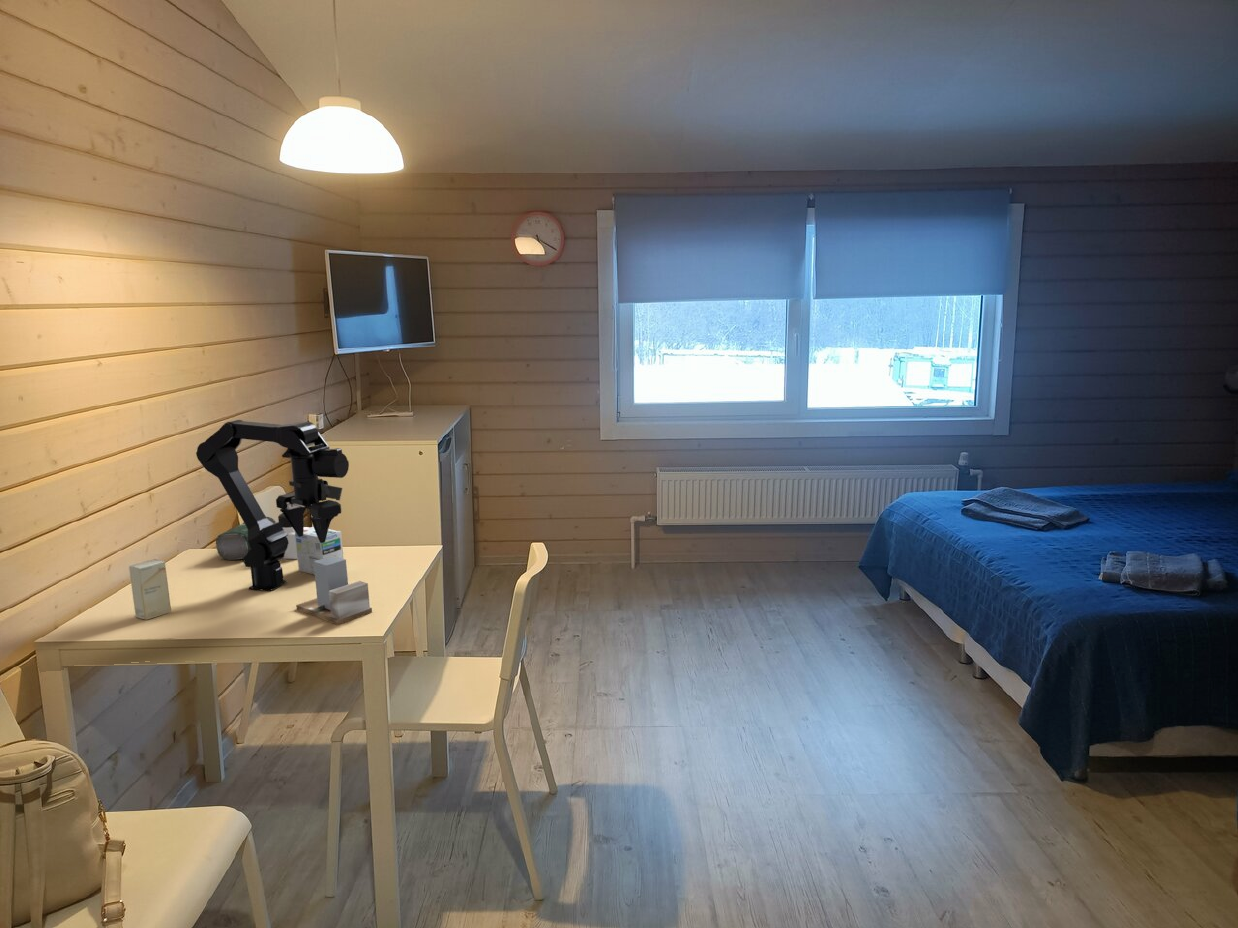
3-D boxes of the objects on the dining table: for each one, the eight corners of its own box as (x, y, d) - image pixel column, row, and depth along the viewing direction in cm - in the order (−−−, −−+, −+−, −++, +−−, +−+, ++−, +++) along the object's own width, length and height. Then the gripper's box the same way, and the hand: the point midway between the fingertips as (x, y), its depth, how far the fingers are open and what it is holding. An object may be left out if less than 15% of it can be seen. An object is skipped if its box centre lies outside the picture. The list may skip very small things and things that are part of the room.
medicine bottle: (298, 559, 235) (294, 516, 232) (274, 558, 236) (270, 516, 233) (312, 551, 241) (308, 510, 239) (289, 550, 243) (285, 509, 240)
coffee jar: (251, 559, 234) (283, 539, 252) (245, 531, 232) (278, 513, 250) (217, 562, 235) (252, 542, 253) (211, 534, 233) (246, 516, 251)
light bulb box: (345, 570, 225) (342, 530, 223) (324, 577, 219) (320, 537, 217) (318, 564, 231) (314, 525, 228) (297, 571, 225) (293, 531, 223)
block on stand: (296, 609, 198) (293, 580, 197) (330, 597, 205) (328, 569, 204) (337, 624, 189) (334, 594, 187) (372, 612, 196) (369, 582, 194)
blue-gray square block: (312, 607, 195) (307, 562, 193) (336, 598, 200) (332, 555, 198) (329, 613, 191) (324, 568, 189) (353, 604, 196) (349, 560, 194)
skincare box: (145, 620, 193) (138, 569, 191) (134, 617, 196) (127, 565, 193) (172, 611, 199) (165, 561, 196) (161, 608, 201) (154, 558, 198)
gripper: (358, 474, 205) (363, 537, 208) (313, 465, 216) (319, 525, 219) (316, 483, 196) (322, 549, 199) (271, 473, 207) (278, 536, 211)
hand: (311, 539), depth 207 cm, fingers open, 9 cm apart
